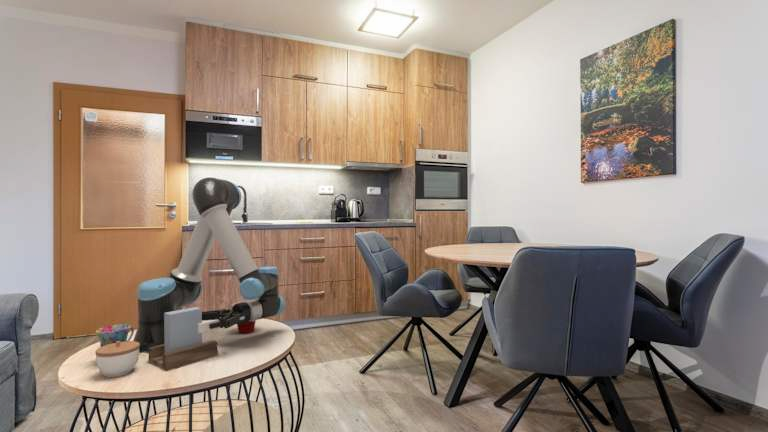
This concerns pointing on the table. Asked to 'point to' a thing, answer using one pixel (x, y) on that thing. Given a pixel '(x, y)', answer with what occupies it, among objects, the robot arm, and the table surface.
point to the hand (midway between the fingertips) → (187, 325)
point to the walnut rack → (181, 355)
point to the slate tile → (182, 328)
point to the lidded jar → (117, 358)
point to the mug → (114, 334)
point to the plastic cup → (245, 324)
